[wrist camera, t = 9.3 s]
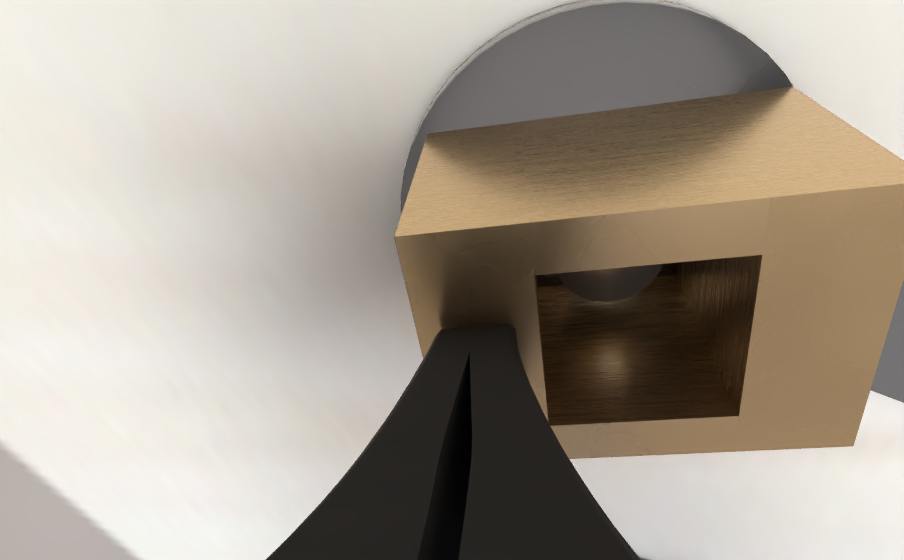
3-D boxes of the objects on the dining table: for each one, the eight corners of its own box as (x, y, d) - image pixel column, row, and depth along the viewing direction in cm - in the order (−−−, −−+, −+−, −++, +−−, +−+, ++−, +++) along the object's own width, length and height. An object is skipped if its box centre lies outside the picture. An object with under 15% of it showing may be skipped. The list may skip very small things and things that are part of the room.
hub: (659, 393, 19) (679, 458, 17) (360, 287, 17) (339, 343, 15) (898, 102, 13) (974, 141, 11) (494, -84, 12) (492, -79, 10)
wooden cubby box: (760, 298, 16) (852, 446, 11) (462, 323, 17) (448, 464, 13) (792, 86, 13) (933, 180, 8) (427, 133, 14) (394, 236, 10)
